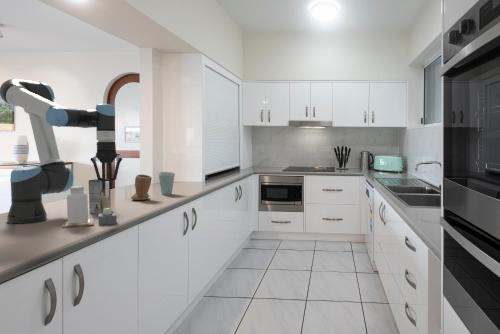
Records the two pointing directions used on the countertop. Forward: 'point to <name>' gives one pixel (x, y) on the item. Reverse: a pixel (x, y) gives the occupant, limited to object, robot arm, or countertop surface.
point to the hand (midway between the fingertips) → (107, 196)
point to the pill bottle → (77, 205)
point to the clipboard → (88, 223)
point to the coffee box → (98, 197)
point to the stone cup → (142, 187)
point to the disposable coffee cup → (166, 182)
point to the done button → (106, 211)
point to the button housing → (107, 219)
